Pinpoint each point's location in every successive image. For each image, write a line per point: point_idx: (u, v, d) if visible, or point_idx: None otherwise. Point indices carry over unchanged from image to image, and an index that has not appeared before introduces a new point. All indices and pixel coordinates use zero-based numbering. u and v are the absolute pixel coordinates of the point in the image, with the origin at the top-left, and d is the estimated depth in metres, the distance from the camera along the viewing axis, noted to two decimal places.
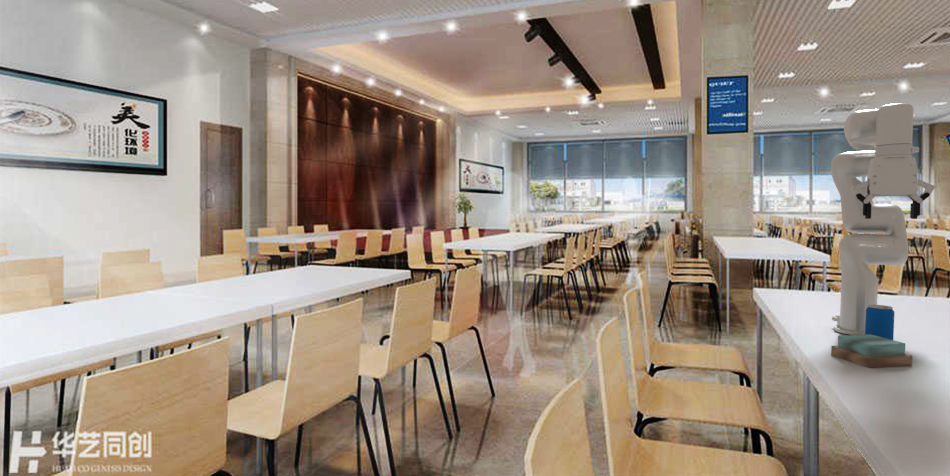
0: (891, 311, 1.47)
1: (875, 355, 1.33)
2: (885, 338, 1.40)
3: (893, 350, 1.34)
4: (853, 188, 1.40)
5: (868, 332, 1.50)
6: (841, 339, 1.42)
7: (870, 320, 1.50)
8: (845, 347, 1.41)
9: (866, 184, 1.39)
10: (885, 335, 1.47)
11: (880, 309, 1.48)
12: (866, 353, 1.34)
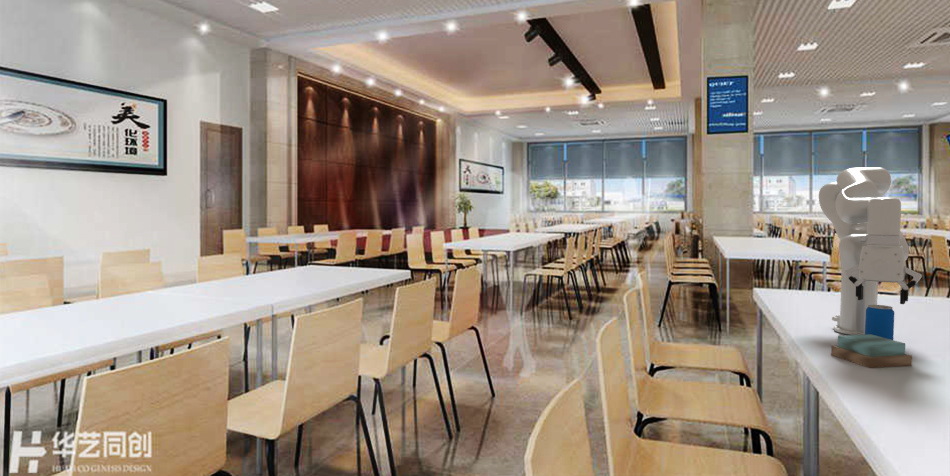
0: (891, 311, 1.47)
1: (875, 355, 1.33)
2: (885, 338, 1.40)
3: (893, 350, 1.34)
4: None
5: (868, 332, 1.50)
6: (841, 339, 1.42)
7: (870, 320, 1.50)
8: (845, 347, 1.41)
9: None
10: (885, 335, 1.47)
11: (880, 309, 1.48)
12: (866, 353, 1.34)
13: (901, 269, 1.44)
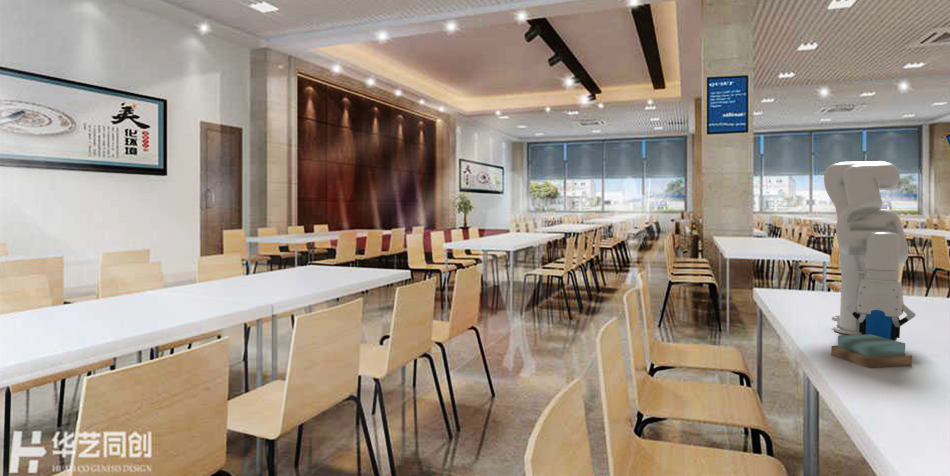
0: None
1: (875, 355, 1.33)
2: (885, 338, 1.40)
3: (893, 350, 1.34)
4: None
5: (868, 332, 1.50)
6: (841, 339, 1.42)
7: (870, 320, 1.50)
8: (845, 347, 1.41)
9: None
10: (884, 335, 1.47)
11: None
12: (866, 353, 1.34)
13: (899, 304, 1.45)
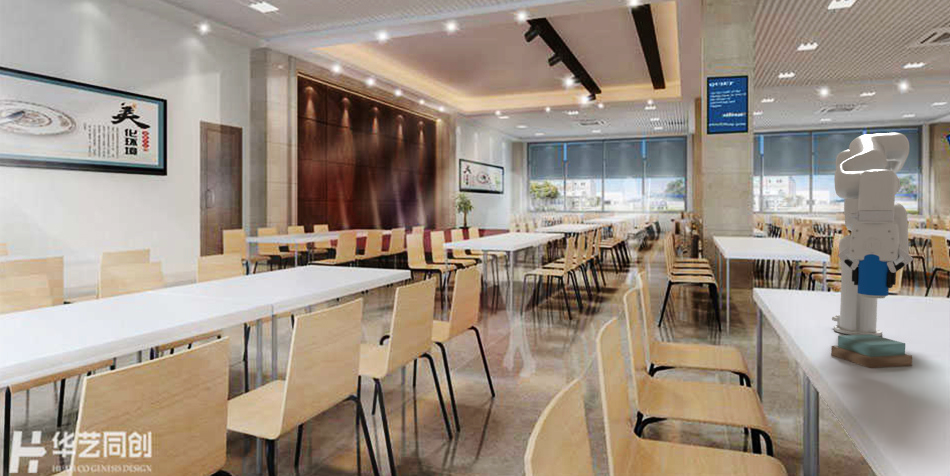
0: None
1: (875, 355, 1.33)
2: (885, 338, 1.40)
3: (893, 350, 1.34)
4: None
5: (861, 279, 1.38)
6: (841, 339, 1.42)
7: (863, 266, 1.37)
8: (845, 347, 1.41)
9: None
10: (879, 281, 1.35)
11: None
12: (866, 353, 1.34)
13: (895, 247, 1.32)
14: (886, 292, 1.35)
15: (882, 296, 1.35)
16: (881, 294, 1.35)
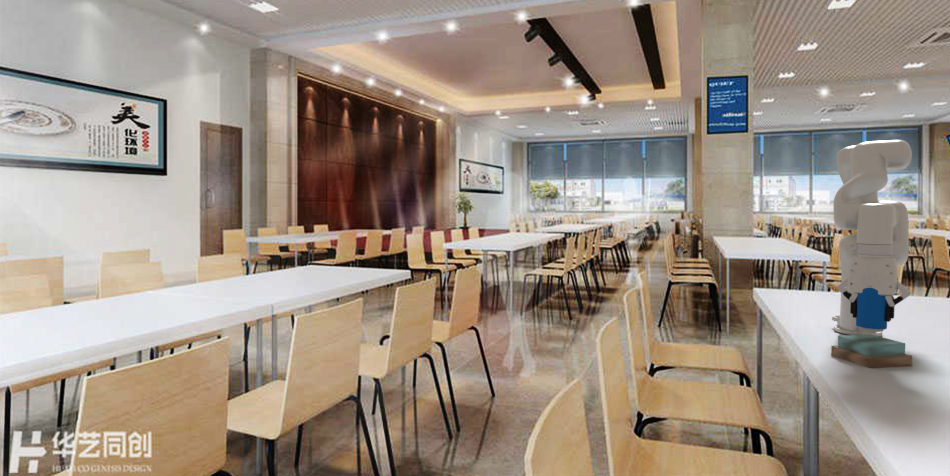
0: None
1: (875, 355, 1.33)
2: (885, 338, 1.40)
3: (893, 350, 1.34)
4: None
5: (860, 312, 1.38)
6: (841, 339, 1.42)
7: (862, 299, 1.37)
8: (845, 347, 1.41)
9: None
10: (878, 315, 1.35)
11: None
12: (866, 353, 1.34)
13: (893, 281, 1.33)
14: (884, 326, 1.35)
15: (880, 329, 1.36)
16: (879, 328, 1.35)
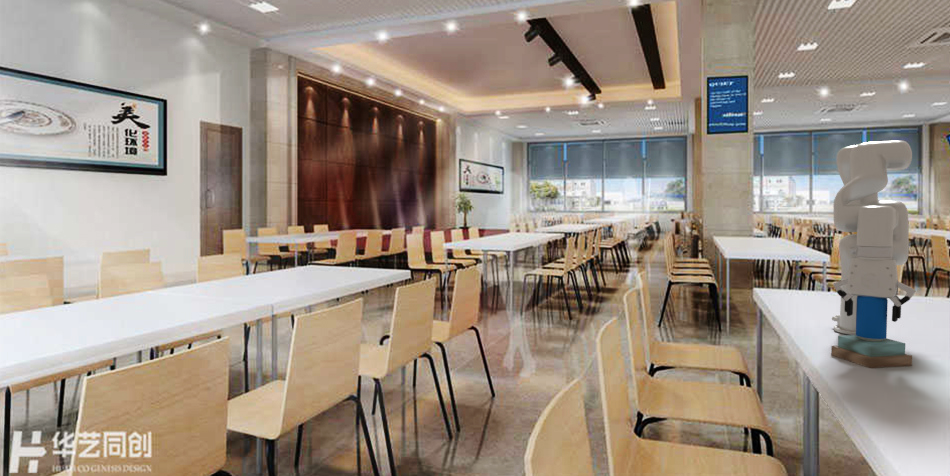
0: (884, 299, 1.35)
1: (875, 355, 1.33)
2: None
3: (893, 350, 1.34)
4: None
5: (859, 322, 1.38)
6: (841, 339, 1.42)
7: (861, 309, 1.38)
8: (845, 347, 1.41)
9: None
10: (877, 324, 1.35)
11: (872, 297, 1.36)
12: (866, 353, 1.34)
13: (893, 283, 1.33)
14: (884, 335, 1.36)
15: (880, 339, 1.36)
16: (879, 337, 1.36)
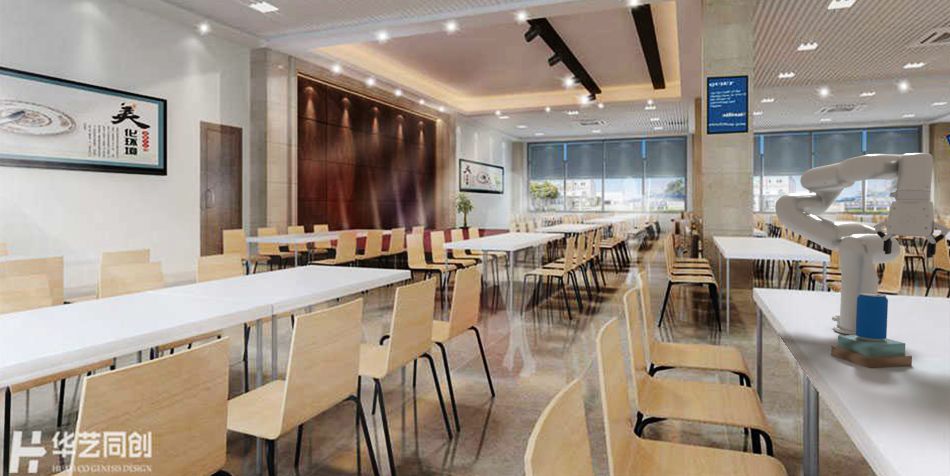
0: (884, 299, 1.35)
1: (875, 355, 1.33)
2: None
3: (893, 350, 1.34)
4: None
5: (859, 322, 1.38)
6: (841, 339, 1.42)
7: (862, 308, 1.38)
8: (845, 347, 1.41)
9: None
10: (877, 324, 1.35)
11: (872, 297, 1.36)
12: (866, 353, 1.34)
13: (929, 223, 1.47)
14: (884, 335, 1.36)
15: (880, 339, 1.36)
16: (879, 337, 1.36)
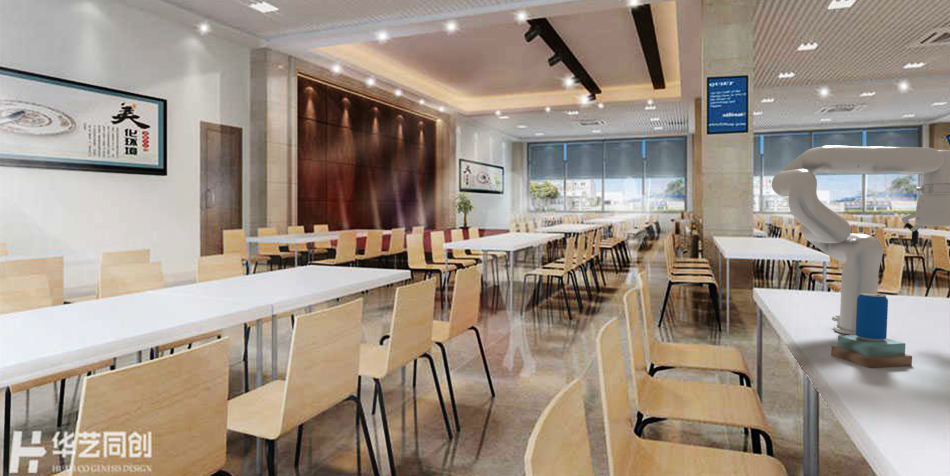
0: (884, 299, 1.35)
1: (875, 355, 1.33)
2: None
3: (893, 350, 1.34)
4: None
5: (859, 322, 1.38)
6: (841, 339, 1.42)
7: (862, 309, 1.38)
8: (845, 347, 1.41)
9: None
10: (877, 325, 1.35)
11: (872, 297, 1.36)
12: (866, 353, 1.34)
13: None
14: (884, 335, 1.36)
15: (880, 339, 1.36)
16: (879, 337, 1.36)
